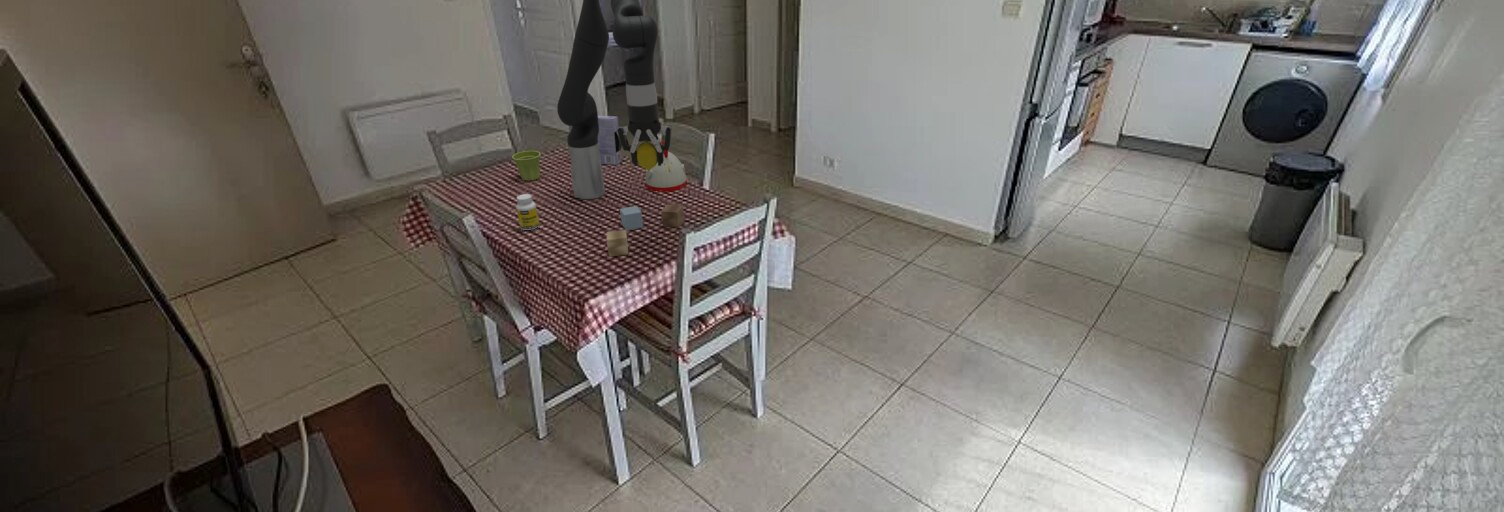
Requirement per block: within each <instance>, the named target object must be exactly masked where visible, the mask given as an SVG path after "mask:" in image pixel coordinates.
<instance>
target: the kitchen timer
mask: <svg viewBox="0 0 1504 512" xmlns="http://www.w3.org/2000/svg"><path fill="white" fill-rule="evenodd" d="M660 142H661V144H662V145H664V144H665V141H663V140H662V141H660ZM663 155H664V161H663V164H661V166H658V162H657V164H656V165H655V167H653V168H651V170H649V171H648V170H647V169H645V187H646V189H647V190H649V191H652V192H656V191H657V192H658V193H671V192H677V191H678V190H682V189H684V188H685V187H686V186H687V184H688V181H687V180H688V179H687V175H686V168H685V165H684V163H681V161H680V160H679V158H678V157H677V156H675V154H674V153H672V152H671V151H669V149H668V150H665V151H663ZM685 185H686V186H685ZM683 187H684V188H683ZM670 191H671V192H670Z"/></svg>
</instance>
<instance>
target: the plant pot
mask: <svg viewBox="0 0 1504 512" xmlns="http://www.w3.org/2000/svg"><path fill="white" fill-rule="evenodd" d="M511 158H512V159H513V161H514V163H515V164H516V166H517V170H518V172H519V175H520V177H521V180H522V181H524V180H533V181H534V180H536V179H537V180H539V179H540V178H539V177H541V169H540V158H541V152H540V151H537V150H525V151H520V152H517V153H515V154H513V155H512V156H511ZM538 178H539V179H538Z"/></svg>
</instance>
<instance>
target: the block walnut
mask: <svg viewBox="0 0 1504 512" xmlns="http://www.w3.org/2000/svg"><path fill="white" fill-rule="evenodd" d="M684 210H685V208H684V205H680V204H677V205H676V204H670V203H669V204H667V205H665V207H664V208H662V210H661V211H660V213H661V225H662V227H663V228H664V227H665V228H673V227H674V229H679V228H680V227H681V226H682V225H683V223H684V222H685V211H684Z"/></svg>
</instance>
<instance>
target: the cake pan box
mask: <svg viewBox="0 0 1504 512" xmlns="http://www.w3.org/2000/svg"><path fill="white" fill-rule="evenodd" d="M598 124H599V134H598V145H599V152H600V159H601V165H611V166H618V165H619V164H621V163H622V162H623V161H622V152H621V149H622V148H623V147H622V143H621V140H620V137H619V134H618V129H619V127H620V126H619V118H618V116H612V115H611V116H610V115H598ZM571 129H572V126H568V132H569V133H570V131H571Z"/></svg>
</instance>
